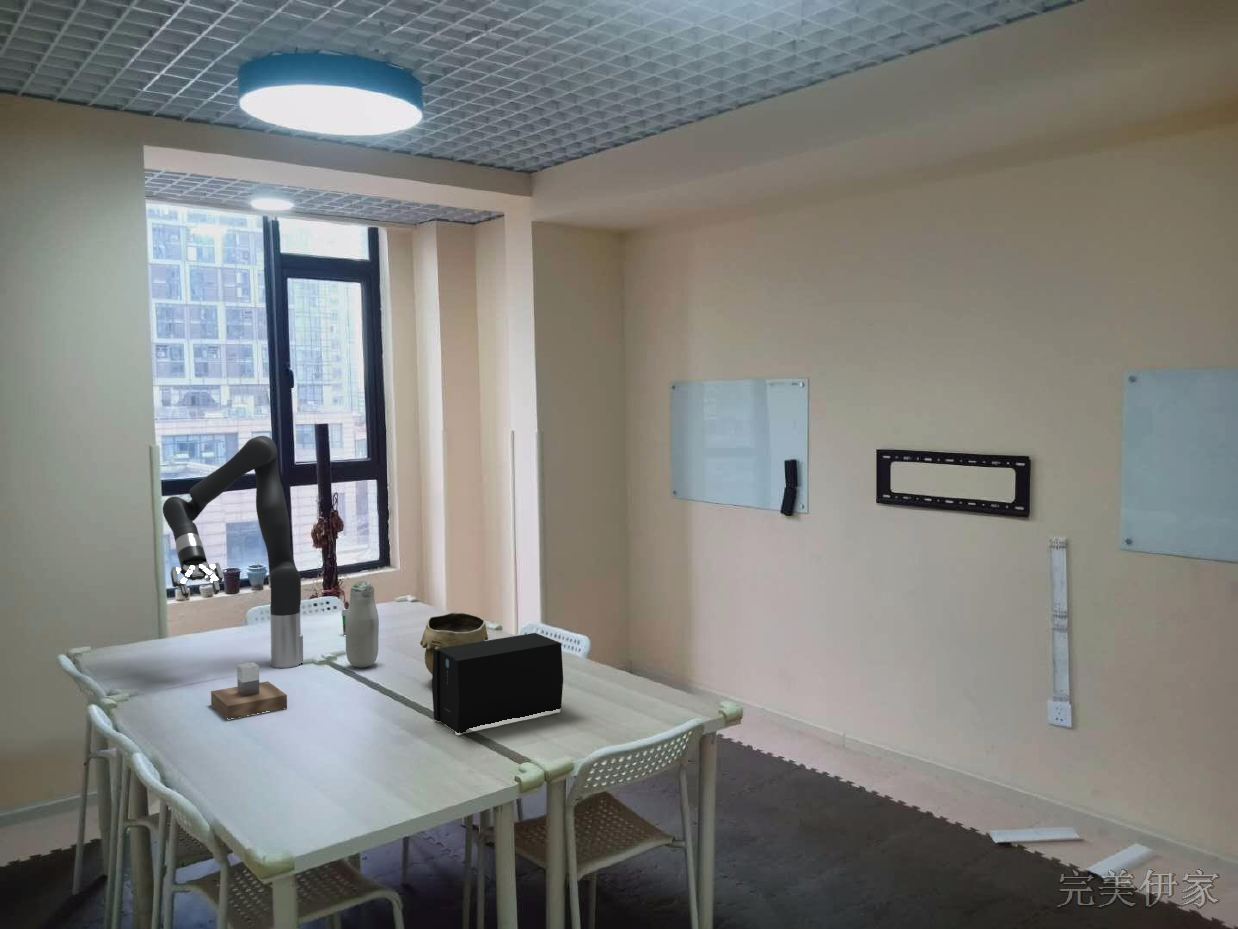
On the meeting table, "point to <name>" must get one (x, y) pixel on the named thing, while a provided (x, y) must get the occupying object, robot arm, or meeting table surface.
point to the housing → (248, 679)
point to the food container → (344, 620)
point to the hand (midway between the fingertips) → (202, 594)
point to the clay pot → (451, 633)
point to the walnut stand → (248, 701)
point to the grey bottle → (362, 626)
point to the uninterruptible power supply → (496, 680)
